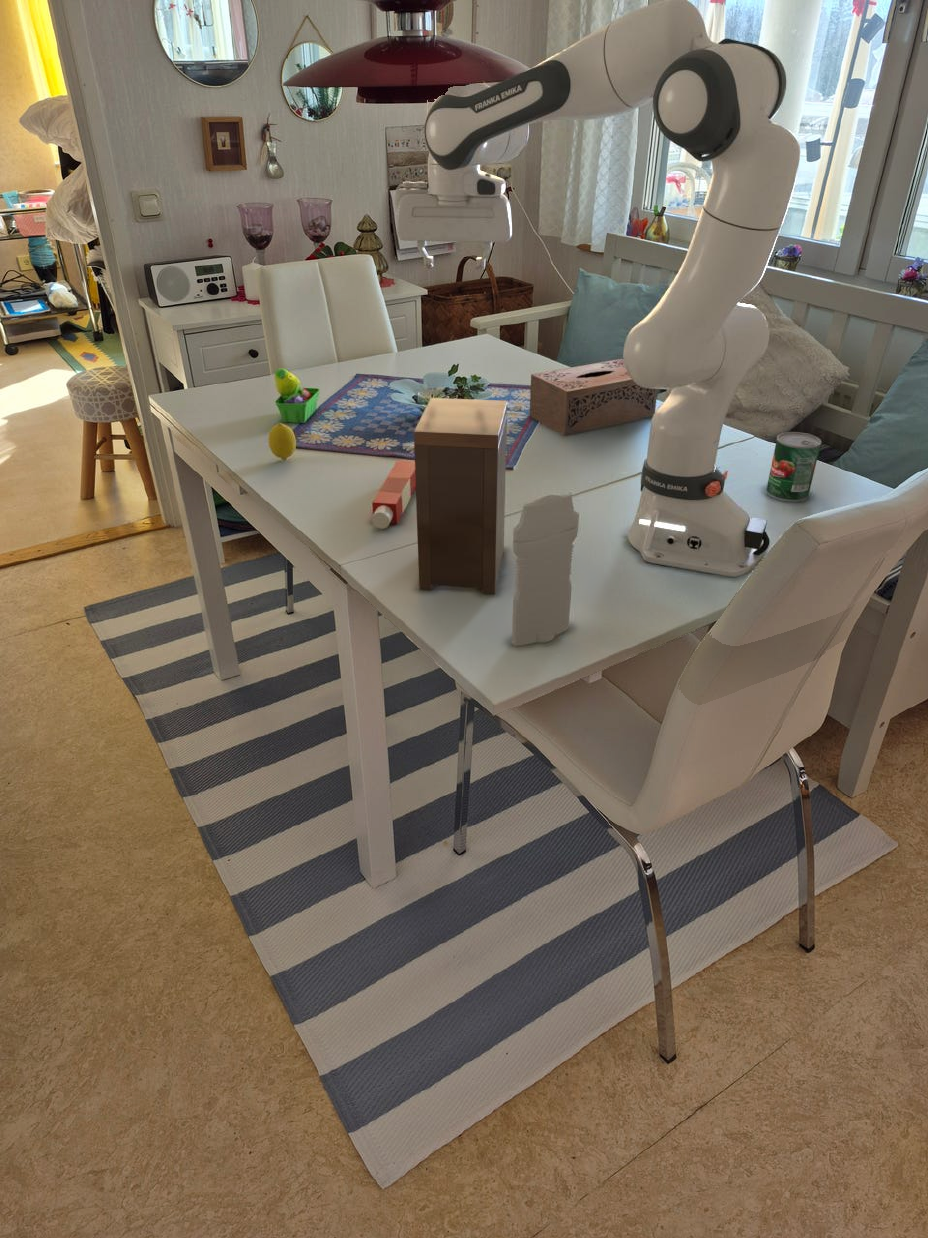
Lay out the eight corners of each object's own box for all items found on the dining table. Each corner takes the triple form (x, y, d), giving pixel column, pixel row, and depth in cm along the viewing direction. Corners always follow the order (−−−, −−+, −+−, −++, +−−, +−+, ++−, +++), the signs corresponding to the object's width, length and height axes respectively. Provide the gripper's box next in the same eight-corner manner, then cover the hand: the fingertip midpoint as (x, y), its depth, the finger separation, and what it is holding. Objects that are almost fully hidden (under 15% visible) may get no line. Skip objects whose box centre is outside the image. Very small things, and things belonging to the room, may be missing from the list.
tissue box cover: (616, 399, 213) (620, 358, 208) (654, 416, 203) (659, 374, 197) (529, 416, 203) (531, 374, 197) (564, 435, 192) (567, 391, 187)
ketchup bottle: (393, 531, 152) (392, 511, 150) (368, 529, 153) (367, 509, 151) (419, 480, 171) (419, 461, 169) (397, 478, 172) (397, 459, 170)
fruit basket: (308, 425, 198) (303, 376, 192) (271, 423, 199) (265, 374, 193) (322, 409, 207) (318, 362, 201) (287, 407, 209) (282, 360, 202)
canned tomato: (757, 492, 166) (768, 438, 160) (780, 481, 170) (791, 428, 164) (794, 505, 161) (806, 450, 155) (816, 494, 165) (829, 440, 159)
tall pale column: (562, 618, 128) (571, 481, 116) (578, 631, 125) (590, 492, 113) (502, 638, 123) (505, 498, 112) (517, 652, 120) (523, 509, 109)
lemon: (292, 465, 178) (287, 428, 173) (267, 463, 179) (262, 426, 174) (301, 455, 182) (297, 419, 178) (277, 454, 183) (272, 417, 179)
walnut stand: (434, 545, 148) (430, 397, 134) (503, 549, 146) (507, 400, 132) (419, 589, 135) (413, 431, 121) (494, 594, 134) (498, 435, 120)
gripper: (390, 183, 145) (394, 270, 152) (511, 184, 143) (509, 272, 150) (397, 179, 150) (401, 263, 158) (514, 180, 148) (512, 266, 155)
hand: (454, 268), depth 154 cm, fingers open, 8 cm apart
